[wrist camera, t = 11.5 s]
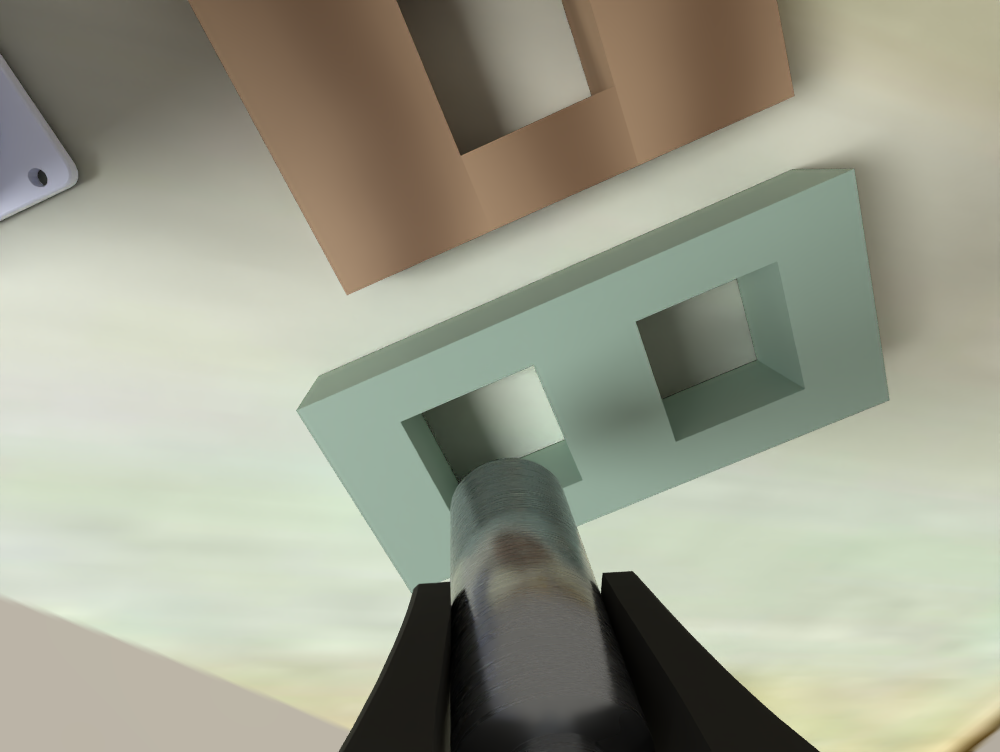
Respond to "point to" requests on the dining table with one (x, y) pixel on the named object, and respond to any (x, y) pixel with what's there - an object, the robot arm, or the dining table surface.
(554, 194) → the socket block
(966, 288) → the dining table surface
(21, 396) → the dining table surface
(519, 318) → the drill rack
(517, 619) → the grey stepped cylinder
